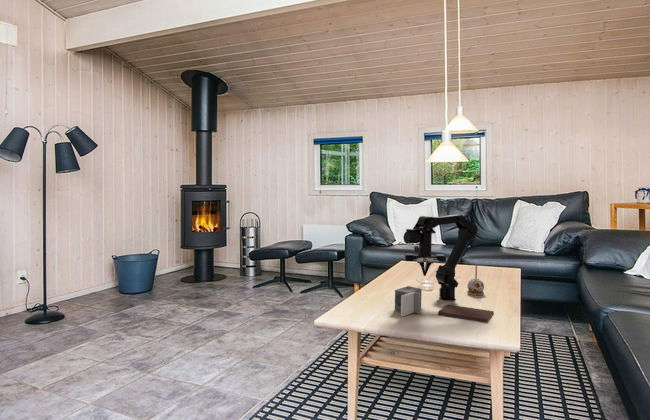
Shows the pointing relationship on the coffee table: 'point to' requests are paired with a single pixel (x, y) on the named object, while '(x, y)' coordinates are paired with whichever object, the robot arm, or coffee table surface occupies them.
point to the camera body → (402, 292)
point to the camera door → (410, 303)
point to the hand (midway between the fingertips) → (424, 275)
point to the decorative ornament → (475, 285)
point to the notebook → (466, 313)
